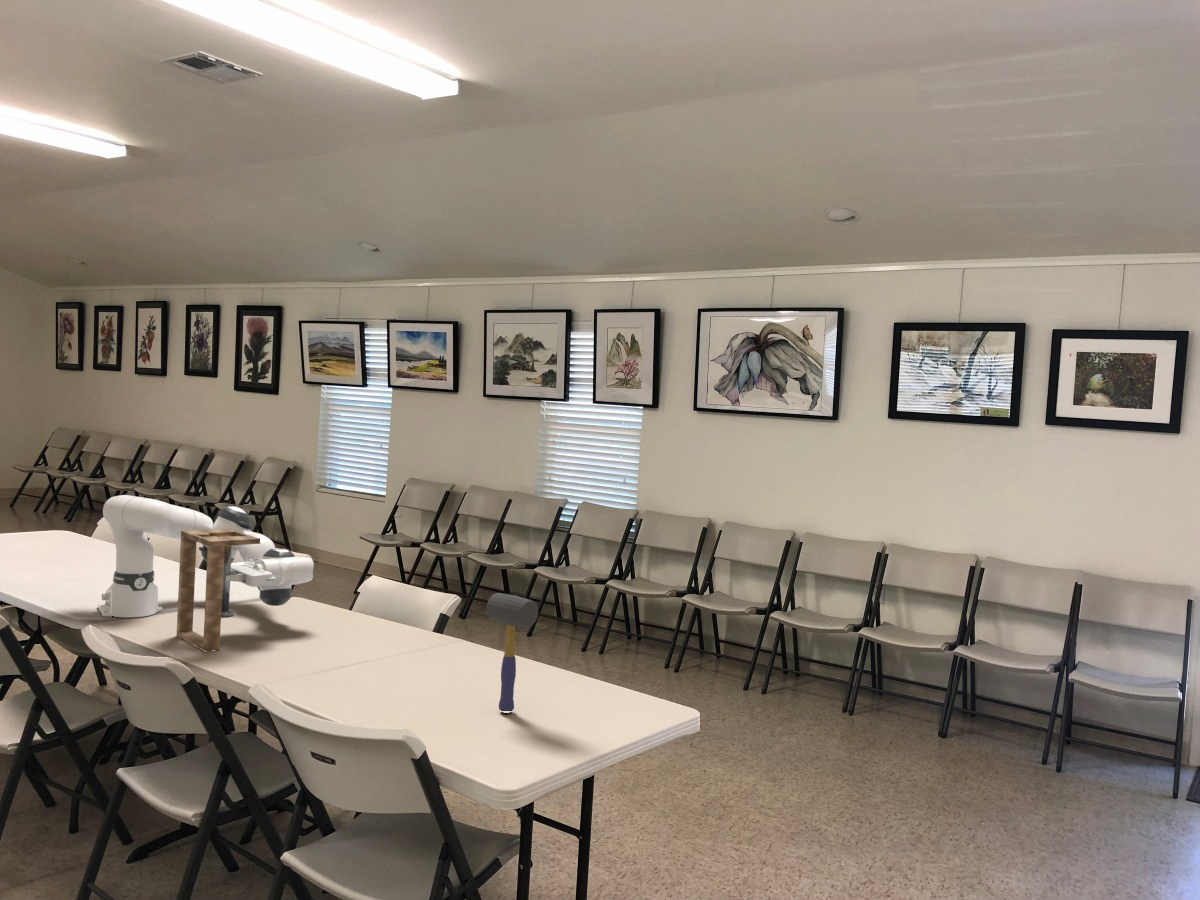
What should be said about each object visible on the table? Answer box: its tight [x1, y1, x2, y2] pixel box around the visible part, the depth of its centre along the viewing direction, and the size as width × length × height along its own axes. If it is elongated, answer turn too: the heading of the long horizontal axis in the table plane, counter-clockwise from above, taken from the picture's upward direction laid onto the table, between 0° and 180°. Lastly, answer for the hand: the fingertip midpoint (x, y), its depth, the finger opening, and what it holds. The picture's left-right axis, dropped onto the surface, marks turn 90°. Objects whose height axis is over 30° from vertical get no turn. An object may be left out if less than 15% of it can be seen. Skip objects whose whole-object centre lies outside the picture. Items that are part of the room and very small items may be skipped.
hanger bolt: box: [218, 536, 237, 619], centre depth 288 cm, size 7×7×24 cm
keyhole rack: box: [176, 529, 261, 652], centre depth 287 cm, size 15×22×32 cm
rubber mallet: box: [486, 592, 539, 712], centre depth 238 cm, size 12×8×30 cm, turn 54°
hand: (222, 576), depth 287 cm, fingers closed on hanger bolt, 3 cm apart
